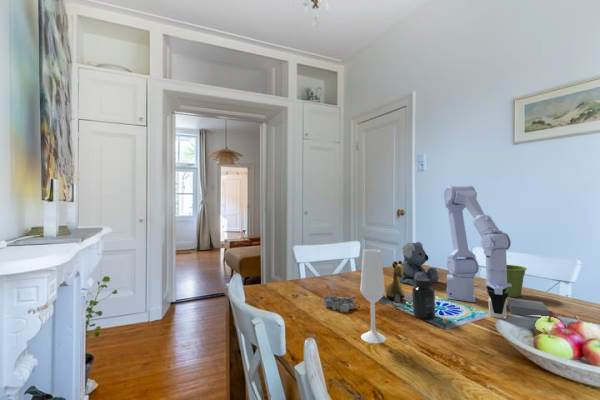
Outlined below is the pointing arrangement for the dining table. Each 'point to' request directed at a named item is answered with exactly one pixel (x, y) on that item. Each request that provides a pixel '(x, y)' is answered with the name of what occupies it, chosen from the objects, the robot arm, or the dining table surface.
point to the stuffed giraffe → (395, 287)
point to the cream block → (495, 313)
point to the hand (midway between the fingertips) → (497, 310)
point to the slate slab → (527, 307)
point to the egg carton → (339, 303)
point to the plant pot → (515, 280)
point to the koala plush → (416, 264)
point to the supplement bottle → (423, 299)
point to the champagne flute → (372, 288)
